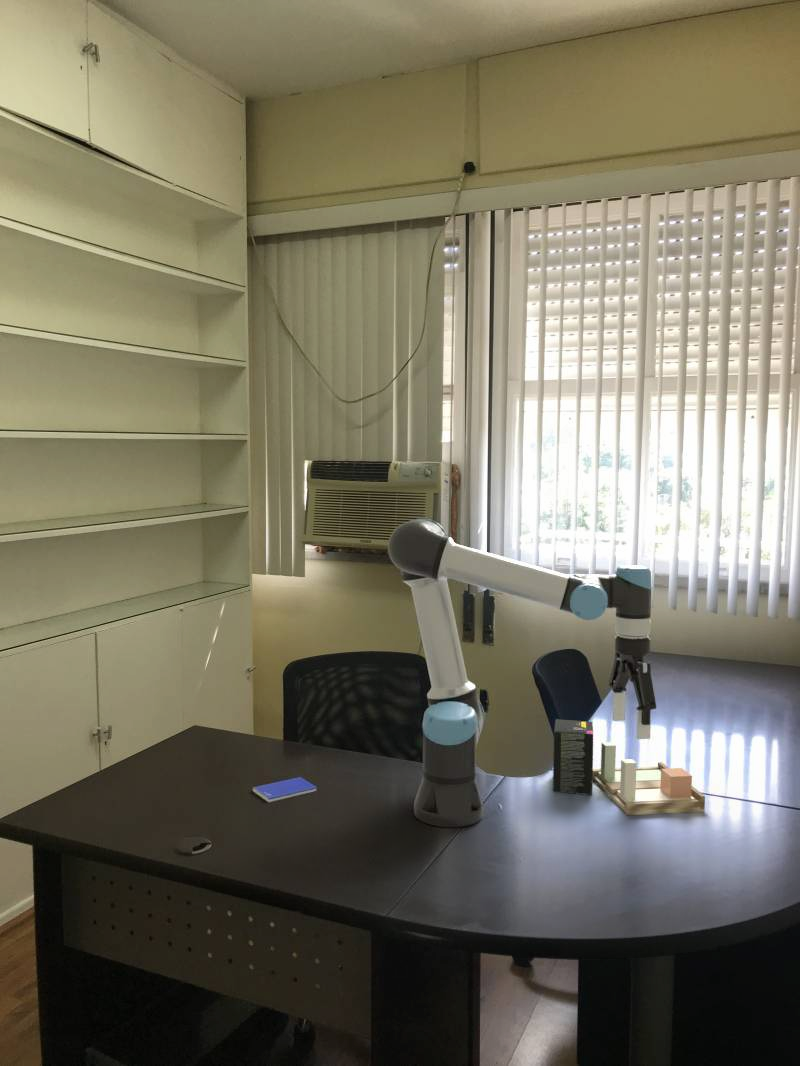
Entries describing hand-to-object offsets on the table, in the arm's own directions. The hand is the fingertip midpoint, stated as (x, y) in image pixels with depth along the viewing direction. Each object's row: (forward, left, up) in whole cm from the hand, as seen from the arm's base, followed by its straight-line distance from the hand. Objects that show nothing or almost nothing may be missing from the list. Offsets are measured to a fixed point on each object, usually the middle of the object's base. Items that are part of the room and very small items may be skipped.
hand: (630, 729), depth 192 cm
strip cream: (+6, 0, -16) cm, 18 cm away
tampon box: (-8, +14, -18) cm, 24 cm away
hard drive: (-77, +17, -19) cm, 81 cm away
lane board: (+7, +6, -18) cm, 20 cm away
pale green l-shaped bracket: (+6, +12, -16) cm, 21 cm away
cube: (+11, 0, -15) cm, 19 cm away
